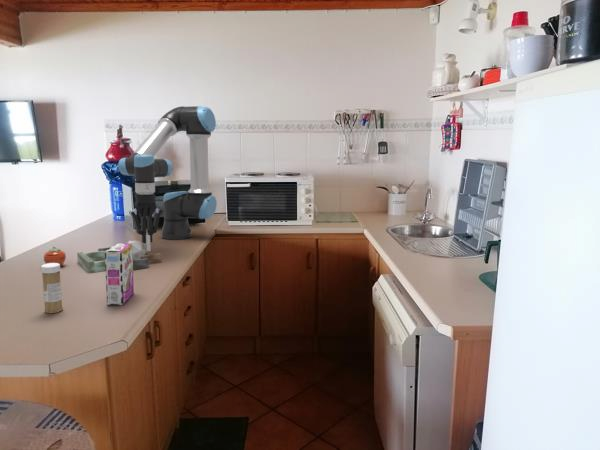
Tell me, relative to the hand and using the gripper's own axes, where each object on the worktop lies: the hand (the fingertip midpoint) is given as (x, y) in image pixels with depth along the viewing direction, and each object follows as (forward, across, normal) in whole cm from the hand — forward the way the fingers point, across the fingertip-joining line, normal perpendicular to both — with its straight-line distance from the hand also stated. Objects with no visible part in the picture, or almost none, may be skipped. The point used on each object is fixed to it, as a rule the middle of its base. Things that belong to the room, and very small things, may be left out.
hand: (147, 250), depth 180 cm
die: (+4, -5, +1) cm, 7 cm away
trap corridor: (+4, -11, 0) cm, 12 cm away
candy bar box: (+4, -24, -43) cm, 49 cm away
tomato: (+4, -32, +7) cm, 34 cm away
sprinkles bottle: (+4, -42, -42) cm, 59 cm away
